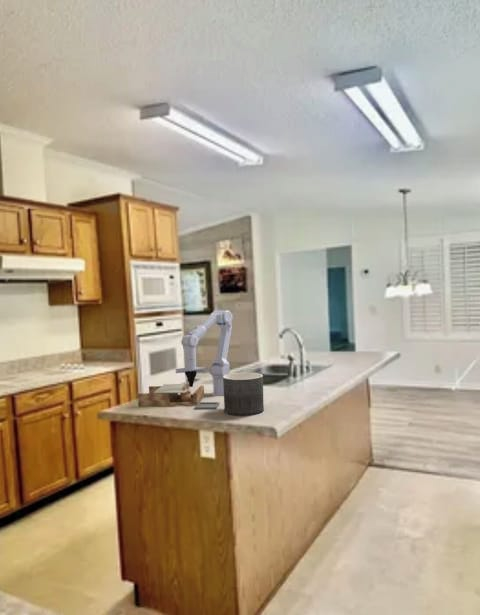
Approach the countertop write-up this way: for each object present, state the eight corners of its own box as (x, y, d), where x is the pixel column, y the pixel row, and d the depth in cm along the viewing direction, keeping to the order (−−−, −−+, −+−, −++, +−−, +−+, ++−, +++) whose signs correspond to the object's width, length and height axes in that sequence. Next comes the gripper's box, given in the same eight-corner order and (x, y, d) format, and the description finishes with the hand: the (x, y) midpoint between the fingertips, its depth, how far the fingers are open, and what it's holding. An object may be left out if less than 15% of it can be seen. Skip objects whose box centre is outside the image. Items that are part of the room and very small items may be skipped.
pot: (192, 399, 244) (191, 389, 244) (189, 402, 239) (189, 392, 239) (181, 399, 245) (181, 389, 245) (179, 402, 239) (178, 392, 239)
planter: (250, 417, 207) (249, 380, 207) (216, 413, 217) (215, 378, 216) (270, 408, 222) (269, 374, 222) (237, 404, 232) (236, 371, 231)
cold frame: (204, 397, 250) (203, 385, 250) (197, 405, 232) (196, 393, 232) (149, 397, 253) (149, 386, 253) (138, 406, 235) (138, 393, 235)
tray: (219, 404, 233) (219, 402, 233) (216, 409, 223) (216, 407, 223) (198, 404, 234) (198, 402, 234) (194, 409, 224) (194, 407, 224)
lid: (193, 385, 251) (193, 380, 251) (185, 392, 232) (184, 387, 232) (164, 385, 252) (164, 380, 252) (154, 393, 234) (153, 388, 234)
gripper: (202, 357, 247) (203, 383, 247) (174, 359, 242) (175, 386, 243) (205, 358, 240) (206, 386, 240) (176, 361, 236) (177, 389, 236)
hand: (191, 386), depth 241 cm, fingers closed
